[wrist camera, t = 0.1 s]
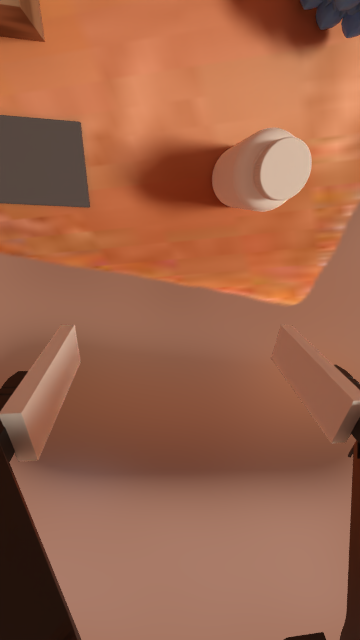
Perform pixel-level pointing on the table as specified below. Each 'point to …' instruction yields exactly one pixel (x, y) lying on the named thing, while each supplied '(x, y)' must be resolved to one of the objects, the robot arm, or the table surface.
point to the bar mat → (42, 162)
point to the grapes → (336, 14)
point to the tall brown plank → (21, 20)
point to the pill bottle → (262, 170)
